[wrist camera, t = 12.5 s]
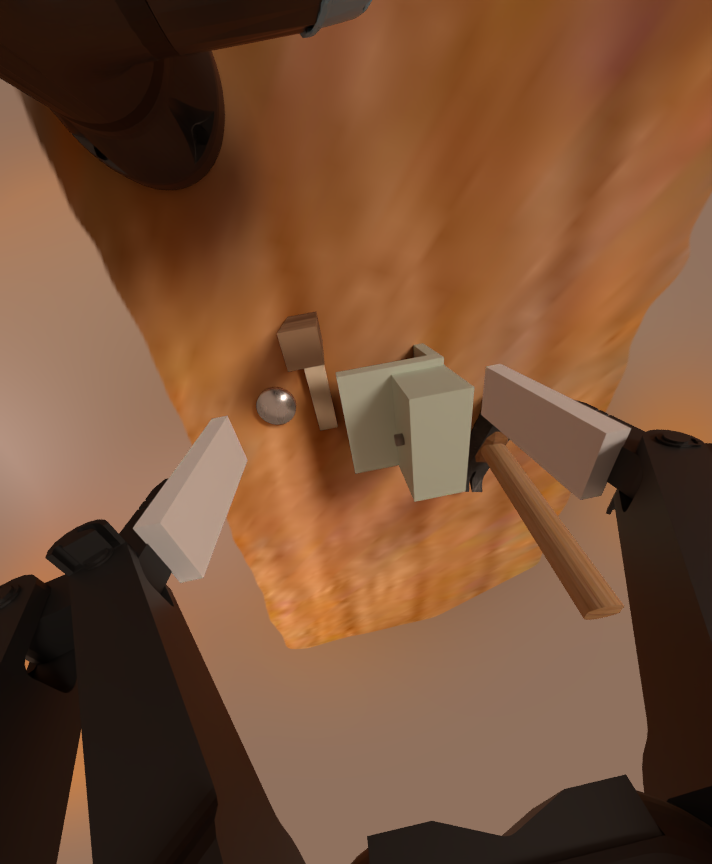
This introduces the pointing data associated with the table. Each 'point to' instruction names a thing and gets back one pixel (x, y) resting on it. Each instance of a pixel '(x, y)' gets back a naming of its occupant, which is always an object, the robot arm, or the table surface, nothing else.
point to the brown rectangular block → (308, 362)
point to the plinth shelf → (410, 421)
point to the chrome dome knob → (276, 405)
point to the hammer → (540, 522)
